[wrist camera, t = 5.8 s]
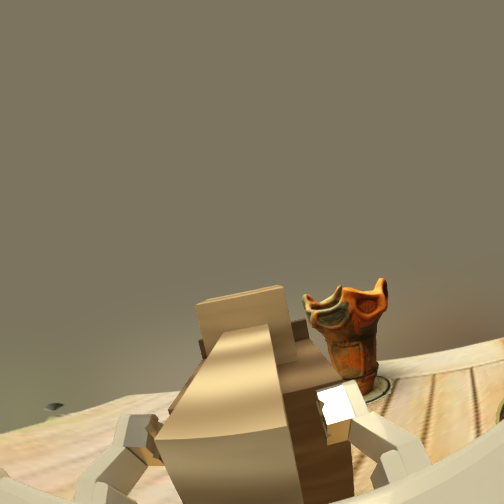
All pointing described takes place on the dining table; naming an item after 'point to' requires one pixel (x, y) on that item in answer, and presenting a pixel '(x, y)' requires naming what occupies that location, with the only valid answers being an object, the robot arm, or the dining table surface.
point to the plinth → (308, 422)
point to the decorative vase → (353, 335)
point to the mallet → (236, 407)
